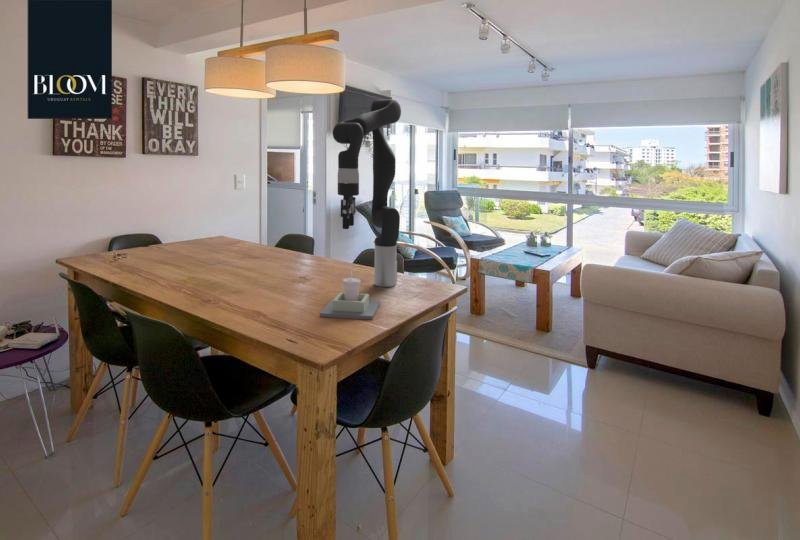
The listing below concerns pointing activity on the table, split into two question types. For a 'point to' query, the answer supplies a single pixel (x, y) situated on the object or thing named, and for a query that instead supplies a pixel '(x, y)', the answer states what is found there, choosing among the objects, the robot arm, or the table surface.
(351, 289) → the smoothie
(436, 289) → the table surface
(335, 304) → the stand
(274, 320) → the table surface
